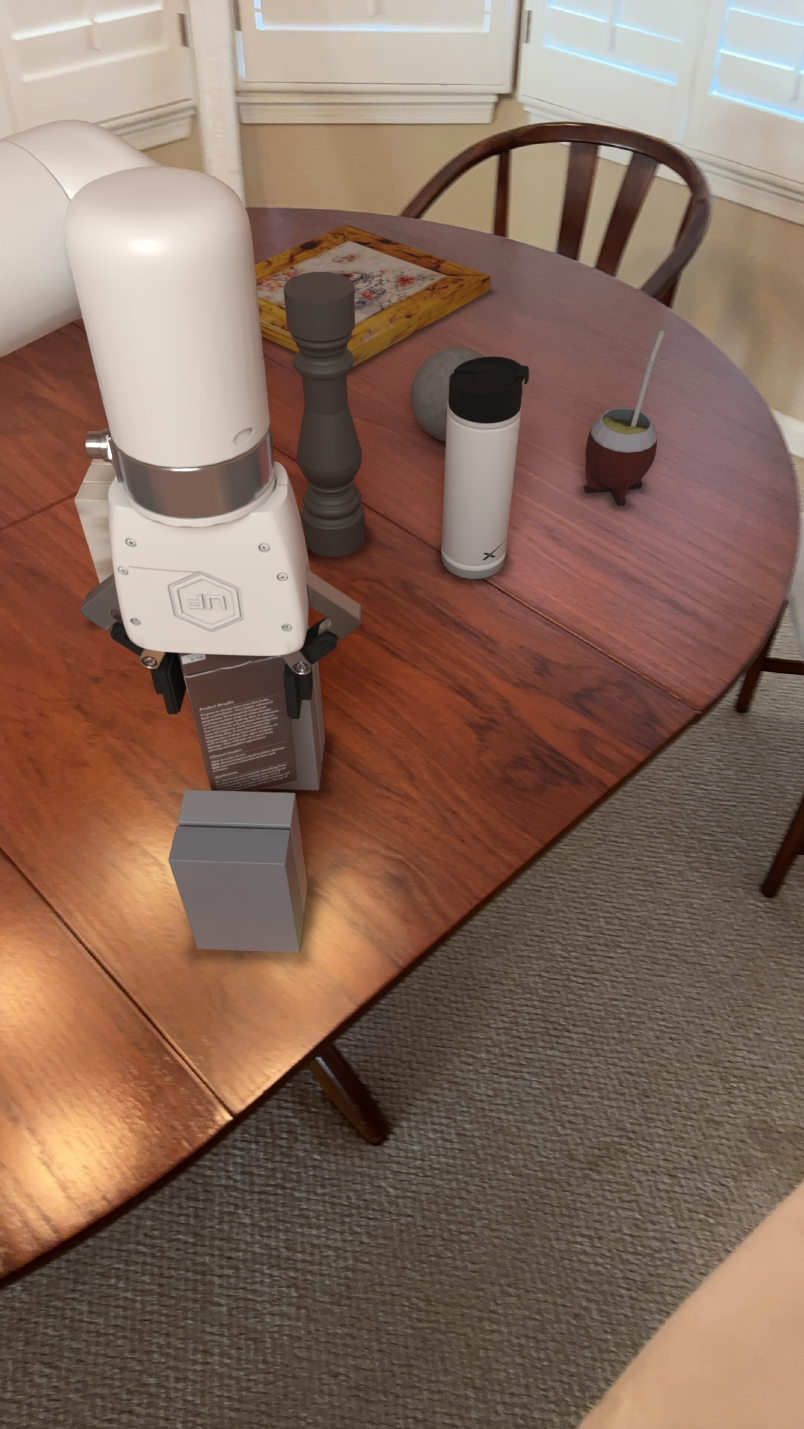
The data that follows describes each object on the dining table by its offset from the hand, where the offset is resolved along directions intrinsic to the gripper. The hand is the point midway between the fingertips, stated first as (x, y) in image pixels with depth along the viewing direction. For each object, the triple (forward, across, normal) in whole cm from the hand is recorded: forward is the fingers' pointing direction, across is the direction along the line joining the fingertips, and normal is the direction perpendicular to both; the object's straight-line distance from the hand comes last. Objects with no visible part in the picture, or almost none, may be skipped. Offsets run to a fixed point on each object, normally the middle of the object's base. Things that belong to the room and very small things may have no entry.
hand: (237, 698), depth 60 cm
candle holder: (+15, +3, +36) cm, 39 cm away
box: (+7, 0, 0) cm, 7 cm away
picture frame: (+16, 0, +89) cm, 90 cm away
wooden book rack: (+15, -13, +31) cm, 37 cm away
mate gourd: (+15, +32, +46) cm, 57 cm away
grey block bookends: (+15, +1, 0) cm, 15 cm away
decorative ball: (+15, +15, +55) cm, 59 cm away
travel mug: (+15, +17, +33) cm, 40 cm away
